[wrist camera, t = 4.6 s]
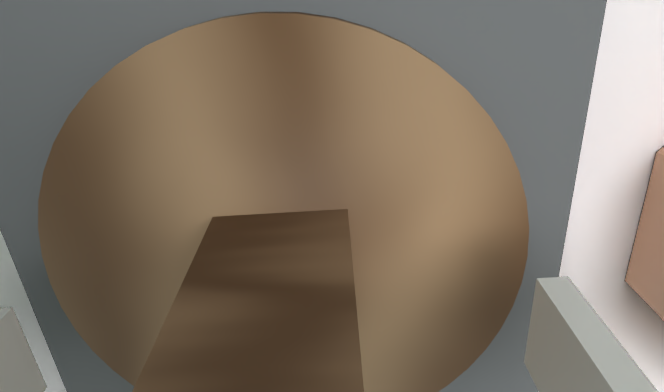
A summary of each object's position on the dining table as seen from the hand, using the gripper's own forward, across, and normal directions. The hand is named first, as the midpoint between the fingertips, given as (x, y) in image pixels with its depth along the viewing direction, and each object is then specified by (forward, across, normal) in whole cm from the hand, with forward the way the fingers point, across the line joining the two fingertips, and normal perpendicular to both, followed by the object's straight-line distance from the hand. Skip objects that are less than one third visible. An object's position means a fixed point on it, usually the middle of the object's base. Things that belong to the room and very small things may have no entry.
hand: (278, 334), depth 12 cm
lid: (+4, 0, 0) cm, 4 cm away
